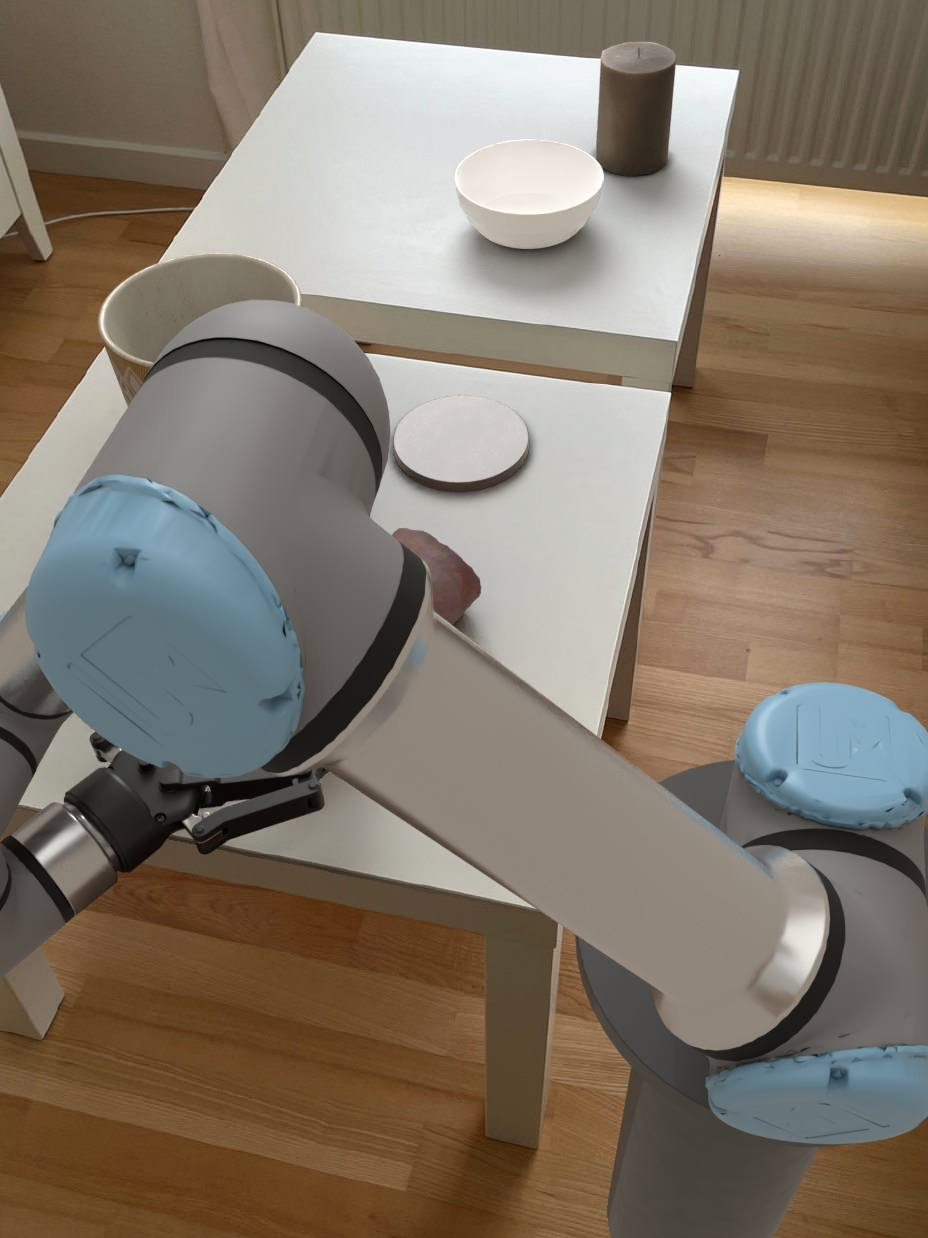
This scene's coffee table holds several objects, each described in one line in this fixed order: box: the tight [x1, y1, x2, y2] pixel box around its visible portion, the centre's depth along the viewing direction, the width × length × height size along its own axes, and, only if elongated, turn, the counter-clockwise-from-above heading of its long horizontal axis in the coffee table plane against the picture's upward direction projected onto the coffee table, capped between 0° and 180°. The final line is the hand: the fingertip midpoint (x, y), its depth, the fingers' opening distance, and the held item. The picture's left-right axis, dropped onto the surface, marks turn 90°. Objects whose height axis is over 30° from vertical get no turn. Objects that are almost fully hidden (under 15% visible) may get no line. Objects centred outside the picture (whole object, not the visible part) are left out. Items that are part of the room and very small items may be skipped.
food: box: [391, 527, 482, 625], centre depth 106 cm, size 21×9×9 cm, turn 150°
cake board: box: [392, 395, 530, 492], centre depth 129 cm, size 14×14×1 cm
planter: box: [97, 252, 303, 407], centre depth 125 cm, size 19×19×16 cm
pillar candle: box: [595, 41, 677, 177], centre depth 163 cm, size 10×10×15 cm
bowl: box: [453, 139, 605, 250], centre depth 154 cm, size 18×18×7 cm
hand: (306, 669), depth 101 cm, fingers open, 13 cm apart
